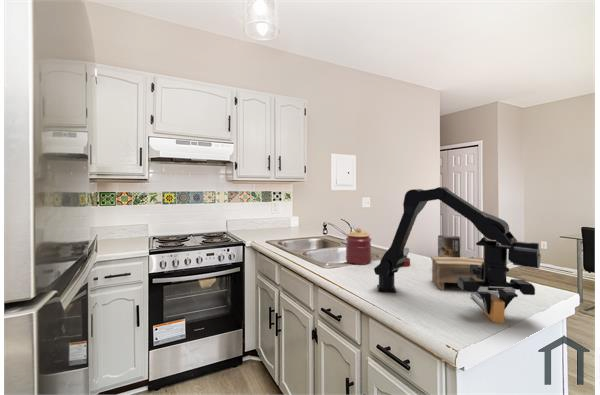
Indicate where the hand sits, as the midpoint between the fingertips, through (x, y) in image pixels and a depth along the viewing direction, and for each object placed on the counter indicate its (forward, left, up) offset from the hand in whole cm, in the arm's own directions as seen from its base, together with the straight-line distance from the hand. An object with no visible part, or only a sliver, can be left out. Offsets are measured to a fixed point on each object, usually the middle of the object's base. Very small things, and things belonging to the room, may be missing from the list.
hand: (494, 314), depth 89 cm
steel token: (+17, -4, -2) cm, 18 cm away
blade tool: (+7, -3, -1) cm, 8 cm away
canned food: (+58, +19, -2) cm, 61 cm away
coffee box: (+48, -1, -1) cm, 48 cm away
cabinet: (+28, -1, -1) cm, 28 cm away
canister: (+60, +39, -1) cm, 71 cm away
